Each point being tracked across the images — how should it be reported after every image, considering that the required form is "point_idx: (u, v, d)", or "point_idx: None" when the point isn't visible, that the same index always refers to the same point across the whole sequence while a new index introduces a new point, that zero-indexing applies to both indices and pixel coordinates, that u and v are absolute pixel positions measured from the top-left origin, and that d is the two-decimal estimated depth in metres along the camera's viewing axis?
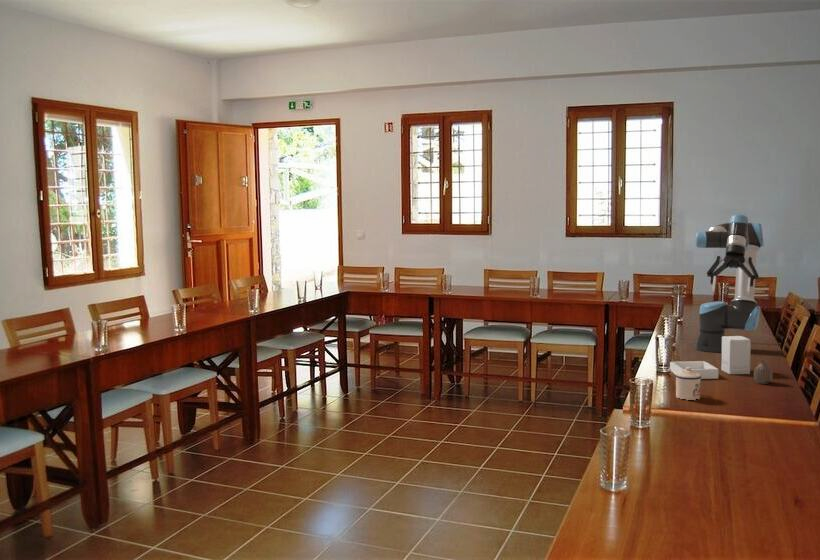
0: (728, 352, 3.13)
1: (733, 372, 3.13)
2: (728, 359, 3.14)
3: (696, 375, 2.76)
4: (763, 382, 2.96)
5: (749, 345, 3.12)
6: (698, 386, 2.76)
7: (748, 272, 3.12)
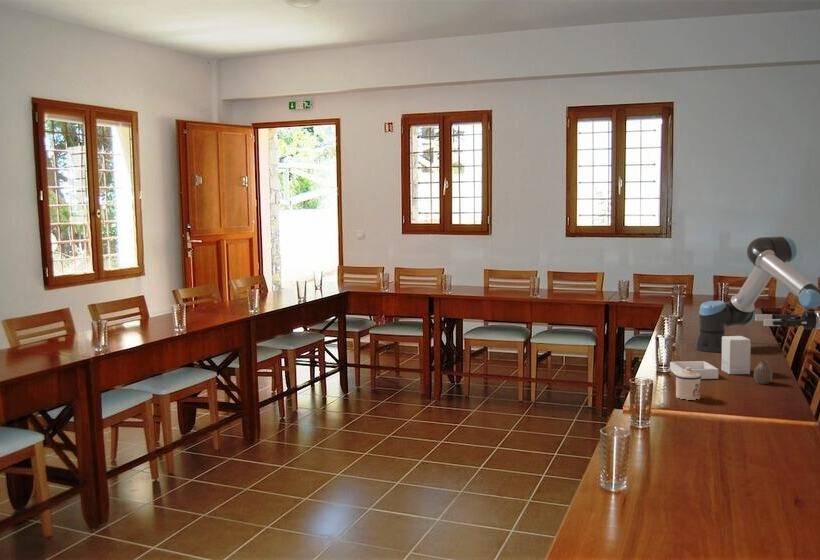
0: (729, 352, 3.13)
1: (733, 372, 3.13)
2: (728, 359, 3.14)
3: (696, 375, 2.76)
4: (763, 382, 2.96)
5: (749, 345, 3.12)
6: (698, 386, 2.76)
7: None
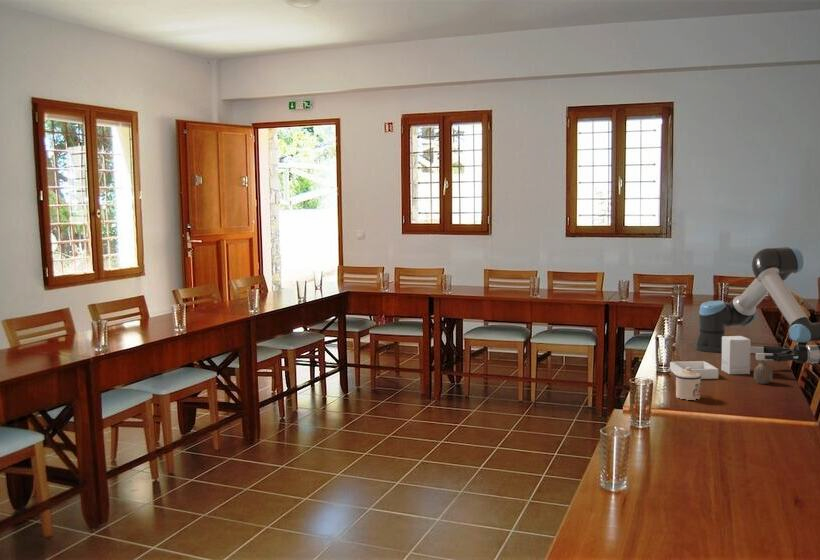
0: (729, 352, 3.13)
1: (733, 372, 3.13)
2: (728, 359, 3.14)
3: (696, 375, 2.76)
4: (763, 382, 2.96)
5: (749, 345, 3.12)
6: (698, 386, 2.76)
7: None
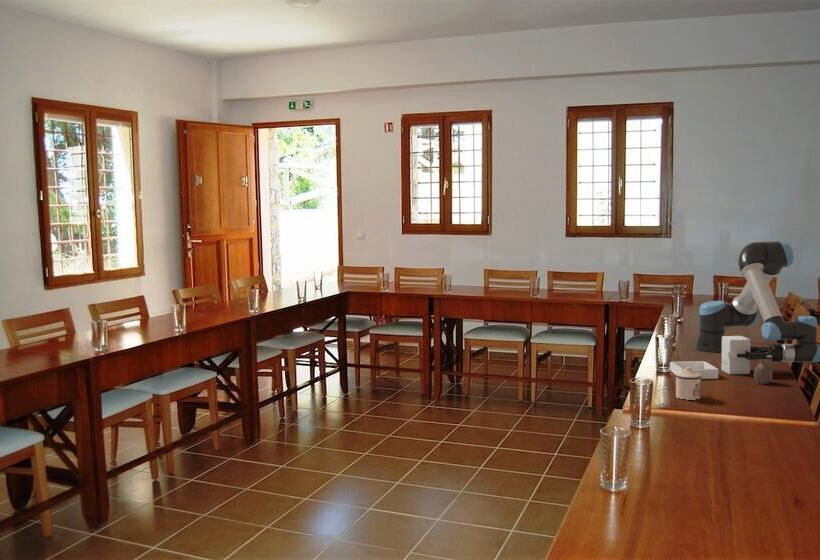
0: None
1: (733, 372, 3.13)
2: (728, 359, 3.14)
3: (696, 375, 2.76)
4: (763, 382, 2.96)
5: (749, 345, 3.12)
6: (698, 386, 2.76)
7: None
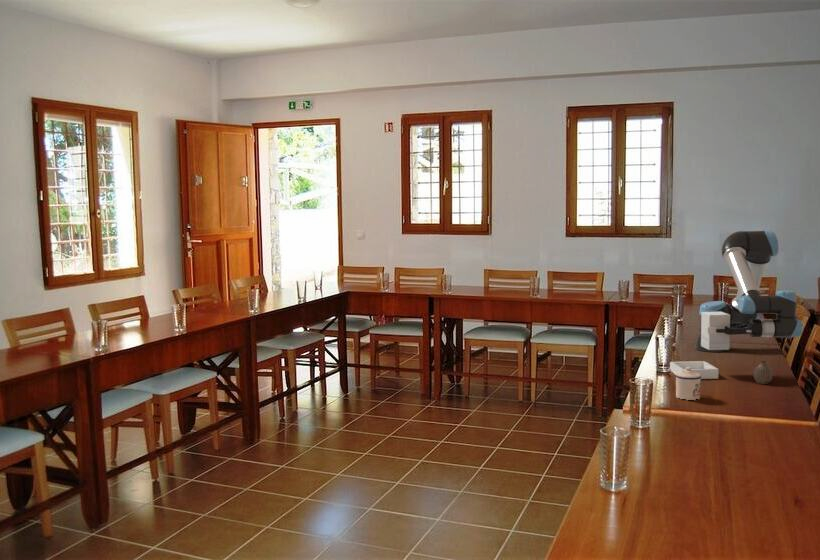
0: None
1: (712, 348, 3.09)
2: (707, 334, 3.10)
3: (696, 375, 2.76)
4: (763, 382, 2.96)
5: (728, 320, 3.08)
6: (698, 386, 2.76)
7: None
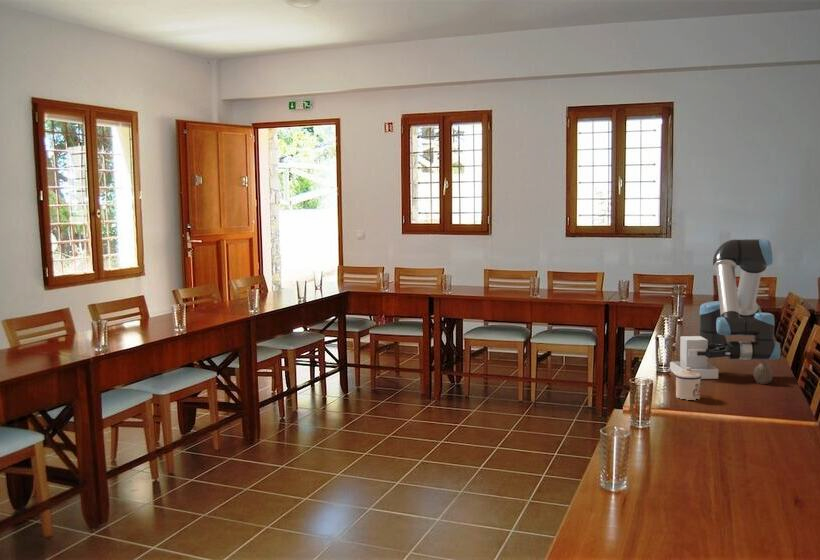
0: (685, 352, 3.11)
1: None
2: (685, 359, 3.12)
3: (696, 375, 2.76)
4: (763, 382, 2.96)
5: (706, 345, 3.09)
6: (698, 386, 2.76)
7: None
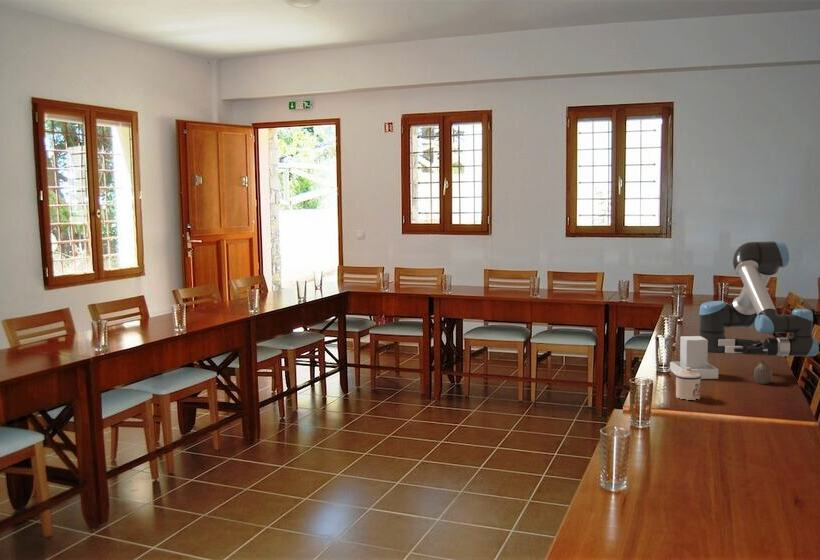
0: (685, 352, 3.11)
1: None
2: (685, 359, 3.12)
3: (696, 375, 2.76)
4: (763, 382, 2.96)
5: (706, 345, 3.09)
6: (698, 386, 2.76)
7: (741, 346, 3.17)
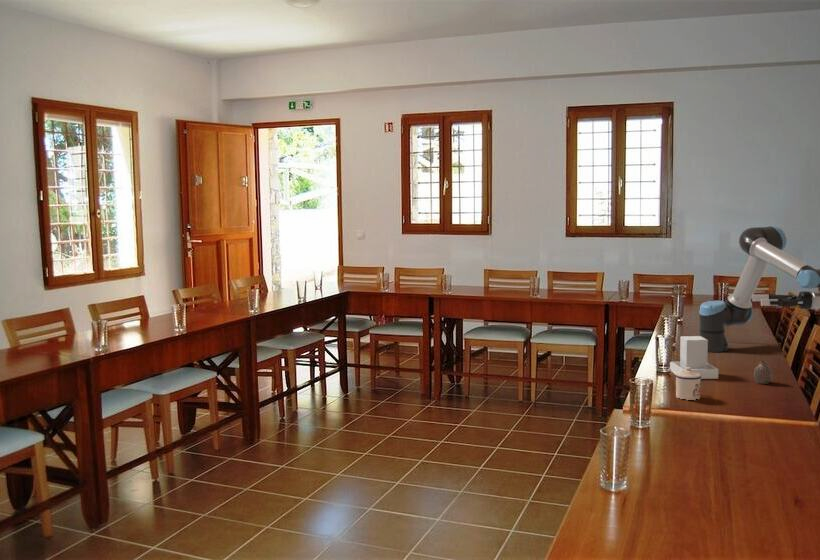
0: (685, 352, 3.11)
1: None
2: (685, 359, 3.12)
3: (696, 375, 2.76)
4: (763, 382, 2.96)
5: (706, 345, 3.09)
6: (698, 386, 2.76)
7: None
